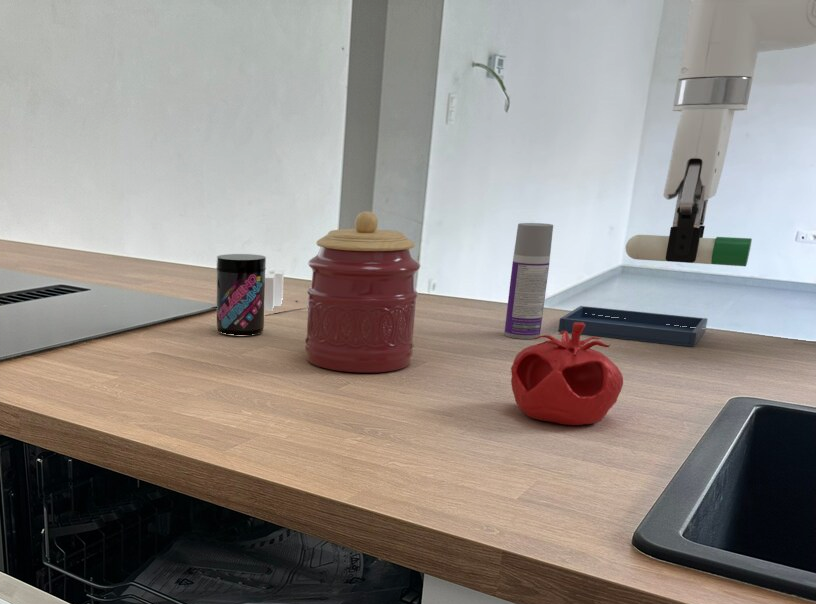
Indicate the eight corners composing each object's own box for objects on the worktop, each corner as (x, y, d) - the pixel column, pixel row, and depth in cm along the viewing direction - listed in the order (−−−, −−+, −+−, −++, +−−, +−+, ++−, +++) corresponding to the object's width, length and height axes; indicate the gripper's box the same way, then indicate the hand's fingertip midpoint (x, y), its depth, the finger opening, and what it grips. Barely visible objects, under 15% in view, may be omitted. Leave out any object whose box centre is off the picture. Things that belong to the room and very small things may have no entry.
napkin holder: (271, 296, 149) (272, 263, 147) (323, 305, 141) (325, 269, 139) (210, 307, 139) (210, 271, 137) (262, 316, 131) (263, 279, 129)
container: (506, 331, 122) (519, 222, 117) (541, 334, 120) (556, 223, 115) (501, 337, 118) (514, 225, 113) (537, 340, 116) (552, 226, 111)
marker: (621, 259, 107) (625, 233, 106) (626, 257, 109) (630, 231, 108) (745, 267, 100) (750, 239, 99) (746, 265, 102) (752, 237, 101)
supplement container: (206, 333, 120) (206, 257, 116) (234, 325, 125) (235, 252, 121) (246, 339, 116) (247, 261, 112) (273, 331, 121) (275, 256, 118)
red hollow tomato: (528, 396, 90) (540, 308, 87) (629, 414, 84) (645, 320, 81) (490, 418, 83) (501, 322, 80) (597, 439, 77) (613, 337, 74)
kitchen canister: (405, 378, 97) (418, 217, 91) (293, 369, 101) (298, 213, 95) (417, 353, 108) (429, 209, 102) (316, 346, 112) (323, 206, 106)
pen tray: (705, 331, 122) (707, 318, 122) (693, 347, 113) (696, 333, 112) (578, 318, 131) (580, 305, 131) (558, 331, 122) (559, 318, 121)
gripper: (683, 100, 107) (657, 251, 113) (665, 95, 94) (637, 265, 100) (753, 99, 103) (722, 255, 109) (744, 92, 90) (710, 270, 96)
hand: (682, 258), depth 104 cm, fingers closed on marker, 3 cm apart
